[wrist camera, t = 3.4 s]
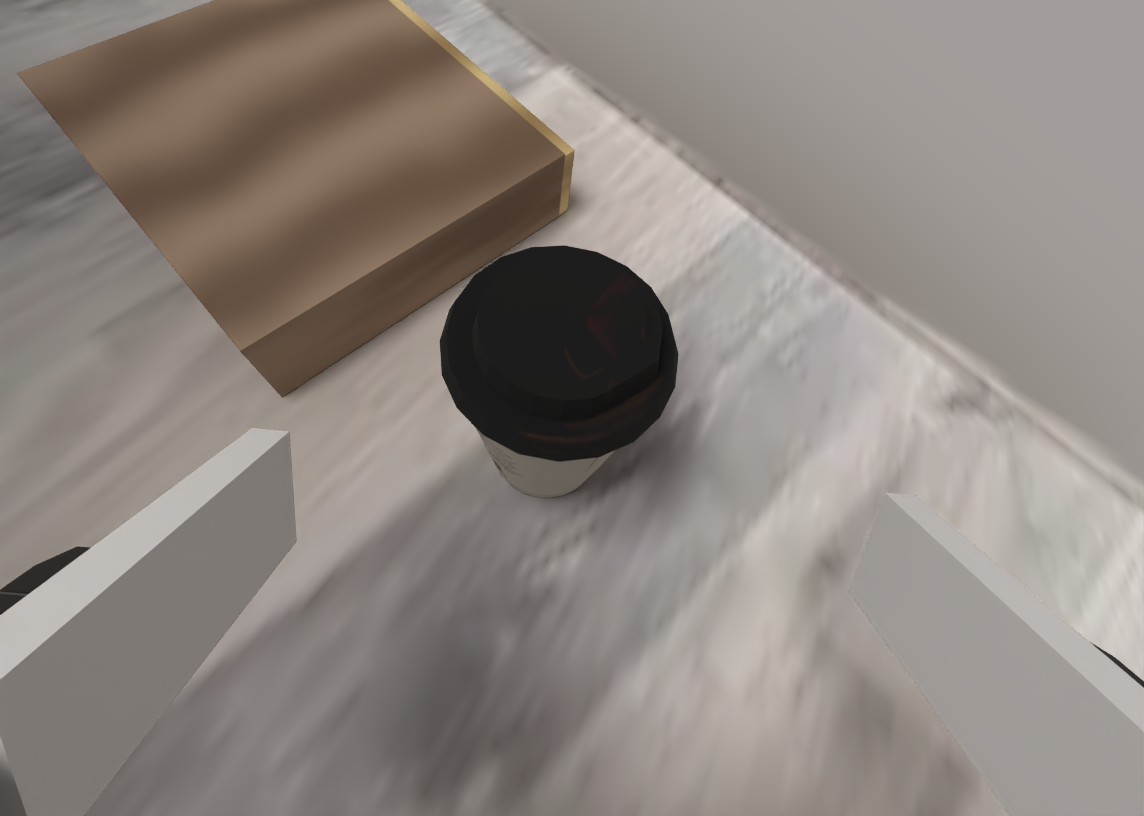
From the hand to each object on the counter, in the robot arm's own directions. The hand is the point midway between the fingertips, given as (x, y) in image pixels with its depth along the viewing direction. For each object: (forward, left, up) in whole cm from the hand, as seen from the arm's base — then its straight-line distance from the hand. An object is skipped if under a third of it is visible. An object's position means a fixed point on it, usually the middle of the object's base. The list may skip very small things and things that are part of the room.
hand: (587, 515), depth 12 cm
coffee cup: (-4, +3, -11) cm, 12 cm away
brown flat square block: (-22, +4, -10) cm, 25 cm away
